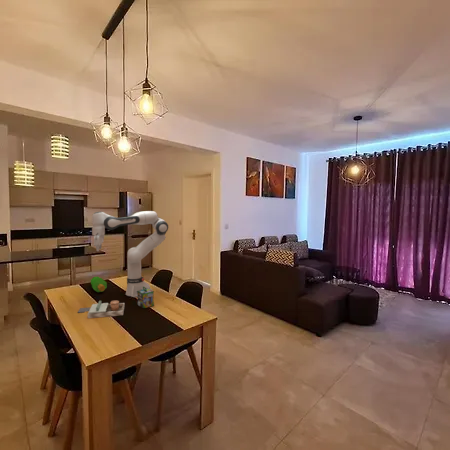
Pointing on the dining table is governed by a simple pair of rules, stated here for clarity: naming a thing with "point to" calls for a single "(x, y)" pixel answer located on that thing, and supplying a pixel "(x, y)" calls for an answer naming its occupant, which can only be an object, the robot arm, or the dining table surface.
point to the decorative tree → (98, 284)
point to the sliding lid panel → (98, 307)
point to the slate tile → (83, 310)
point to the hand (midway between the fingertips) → (99, 250)
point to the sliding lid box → (108, 312)
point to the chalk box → (145, 298)
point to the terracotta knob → (114, 305)
